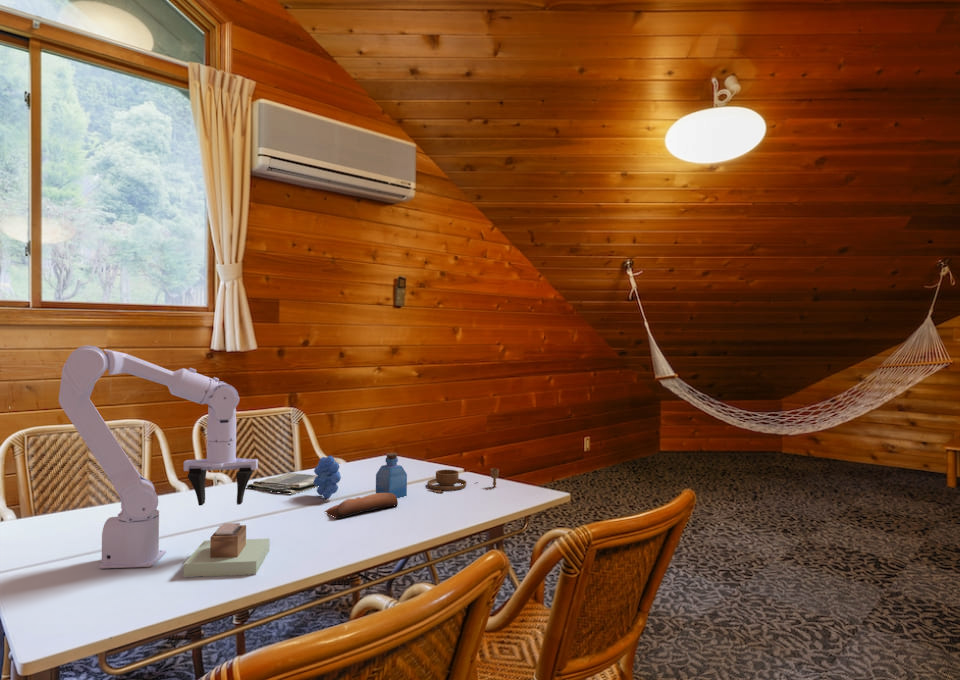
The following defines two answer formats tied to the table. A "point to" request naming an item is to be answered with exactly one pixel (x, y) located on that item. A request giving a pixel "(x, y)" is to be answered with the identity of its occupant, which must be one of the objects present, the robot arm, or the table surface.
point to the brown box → (228, 544)
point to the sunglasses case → (363, 504)
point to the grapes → (327, 476)
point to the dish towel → (286, 483)
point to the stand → (227, 560)
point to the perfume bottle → (391, 477)
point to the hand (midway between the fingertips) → (220, 503)
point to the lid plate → (228, 529)
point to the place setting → (453, 480)
